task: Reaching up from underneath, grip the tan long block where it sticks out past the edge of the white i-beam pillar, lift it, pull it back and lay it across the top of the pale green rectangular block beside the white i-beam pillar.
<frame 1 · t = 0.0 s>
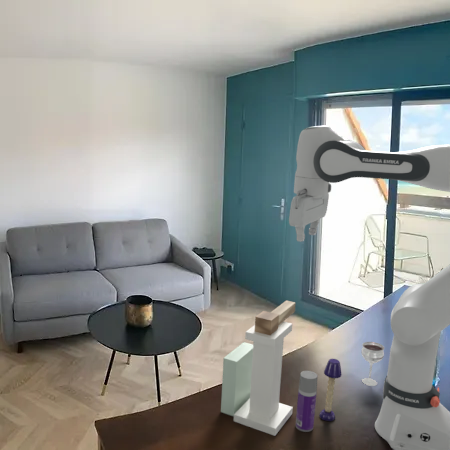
hand: (306, 237, 141), 48 cm above the table, tool pointing down, fingers open, 8 cm apart
toy lamp: (328, 417, 143), on the table
pale green rectangular block: (237, 404, 147), on the table
tan long block: (276, 322, 139), point 26 cm above the table, touching white i-beam pillar
white i-beam pillar: (263, 417, 141), on the table
wineglass: (369, 382, 163), on the table
container: (304, 427, 138), on the table
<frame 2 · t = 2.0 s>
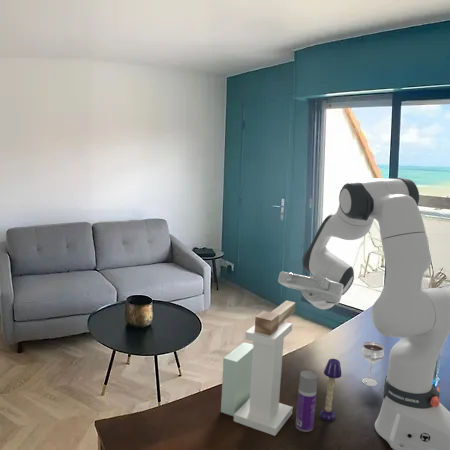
hand: (304, 278, 155), 33 cm above the table, tool pointing upward, fingers open, 8 cm apart
nothing on the table moved.
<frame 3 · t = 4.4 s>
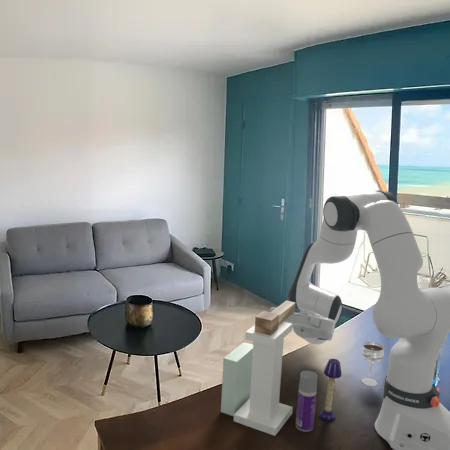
hand: (294, 315, 152), 23 cm above the table, tool pointing upward, fingers open, 8 cm apart
nothing on the table moved.
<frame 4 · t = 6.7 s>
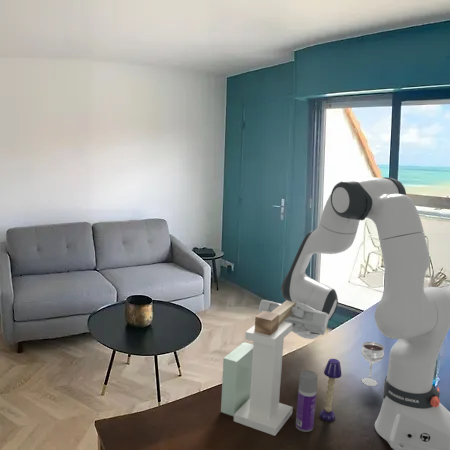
hand: (285, 308, 144), 28 cm above the table, tool pointing upward, fingers closed on tan long block, 3 cm apart
tan long block: (276, 322, 139), point 26 cm above the table, touching gripper, white i-beam pillar
everything else where it was.
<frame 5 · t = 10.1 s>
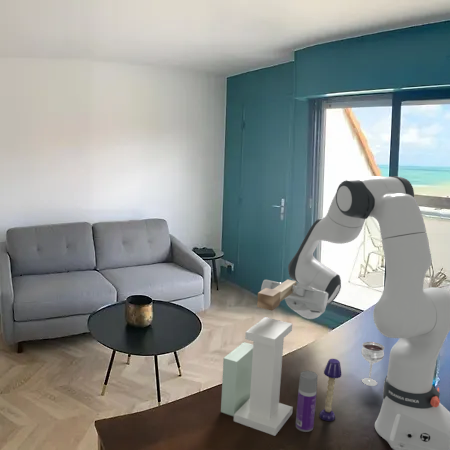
hand: (286, 286, 151), 32 cm above the table, tool pointing upward, fingers closed on tan long block, 3 cm apart
tan long block: (278, 299, 146), point 30 cm above the table, touching gripper
everything else where it was.
when the fingers open (19 cm above the table, at t = 13.6 s): tan long block drops 2 cm, resting on pale green rectangular block.
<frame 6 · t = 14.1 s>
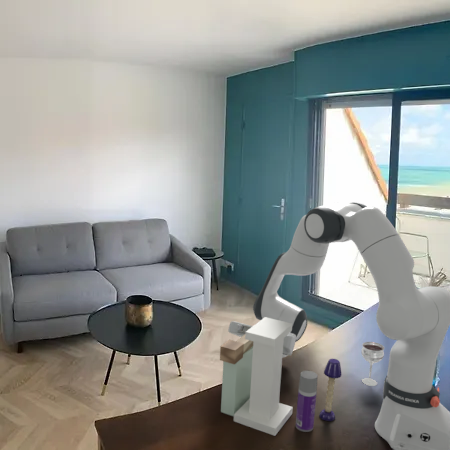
hand: (252, 330, 149), 19 cm above the table, tool pointing upward, fingers open, 8 cm apart
tan long block: (242, 349, 145), point 16 cm above the table, touching pale green rectangular block
everything else where it was.
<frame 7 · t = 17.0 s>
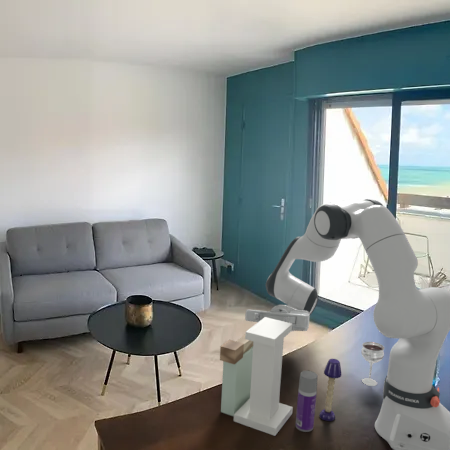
hand: (271, 318, 157), 20 cm above the table, tool pointing upward, fingers open, 8 cm apart
nothing on the table moved.
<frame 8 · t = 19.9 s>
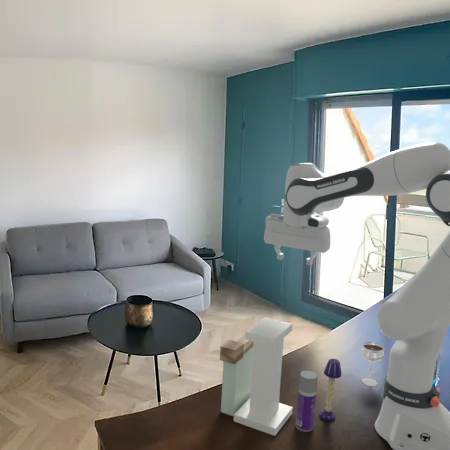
hand: (294, 261, 157), 37 cm above the table, tool pointing down, fingers open, 8 cm apart
nothing on the table moved.
at the end: tan long block 0.4 cm from the target spot on the pale green rectangular block, point 16.0 cm above the pale green rectangular block's base; tan long block touching pale green rectangular block; the gripper is holding nothing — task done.
